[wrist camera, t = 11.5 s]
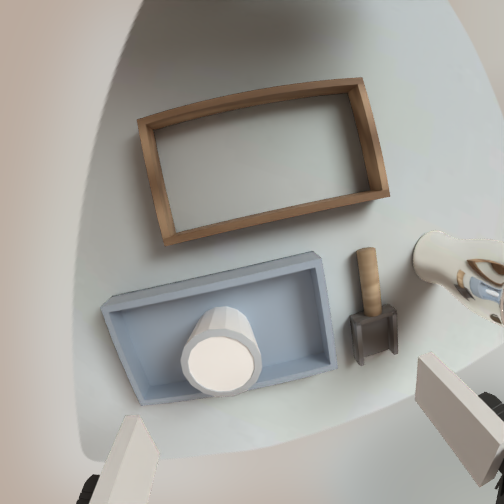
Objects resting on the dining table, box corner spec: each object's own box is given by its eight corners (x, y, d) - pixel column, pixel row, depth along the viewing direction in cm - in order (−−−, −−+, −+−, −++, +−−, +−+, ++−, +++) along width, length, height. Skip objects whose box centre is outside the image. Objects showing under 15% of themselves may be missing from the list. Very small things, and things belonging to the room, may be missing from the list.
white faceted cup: (181, 309, 32) (168, 339, 25) (247, 292, 32) (250, 319, 25) (202, 366, 33) (196, 404, 26) (264, 351, 33) (271, 388, 26)
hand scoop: (341, 253, 32) (347, 257, 30) (382, 243, 32) (390, 246, 30) (354, 357, 34) (360, 366, 32) (390, 346, 34) (397, 353, 32)
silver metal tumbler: (399, 272, 33) (486, 321, 18) (423, 215, 32) (521, 234, 17) (439, 293, 34) (523, 341, 19) (462, 241, 33) (553, 268, 18)
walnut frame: (145, 125, 29) (136, 119, 26) (351, 86, 29) (362, 77, 26) (171, 241, 31) (164, 246, 28) (377, 195, 31) (390, 196, 28)
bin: (112, 295, 32) (100, 307, 28) (312, 250, 32) (321, 258, 28) (147, 388, 34) (141, 405, 30) (329, 353, 34) (337, 368, 31)
